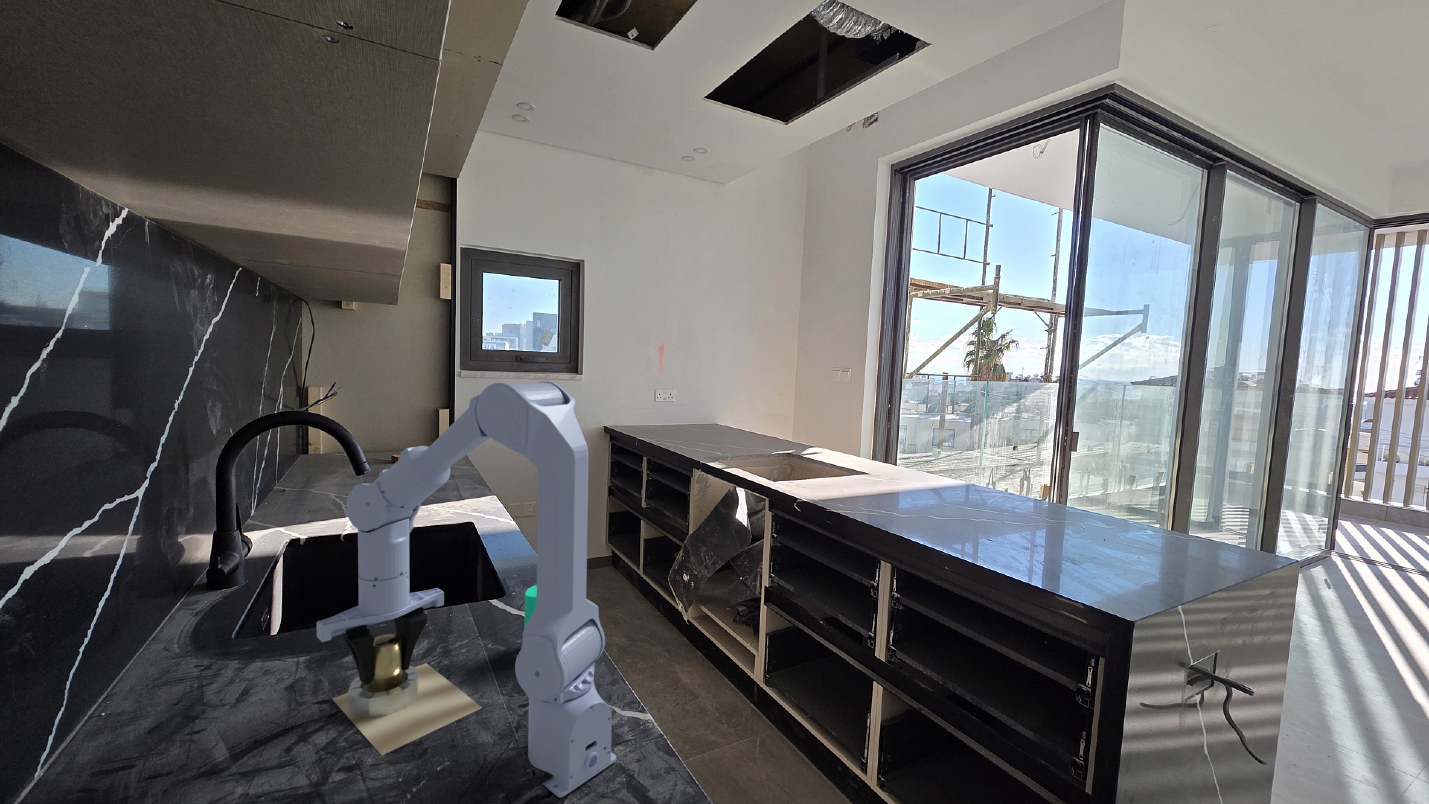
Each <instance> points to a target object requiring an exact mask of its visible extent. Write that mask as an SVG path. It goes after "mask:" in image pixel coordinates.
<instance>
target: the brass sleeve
mask: <svg viewBox="0 0 1429 804" xmlns="http://www.w3.org/2000/svg"><path fill="white" fill-rule="evenodd" d="M374 638H375V639H374V644H373V650H372V683H370V684H367V692H371V693H378V692H384V691H389V690H391V689H394V688H396V687H399V686H400V685H401V684H402V637H401V636H400V635H397V634H396V633H389V634H382V635H379V636H376V637H374Z"/></svg>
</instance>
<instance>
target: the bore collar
mask: <svg viewBox="0 0 1429 804" xmlns="http://www.w3.org/2000/svg"><path fill="white" fill-rule="evenodd" d="M347 693H348V709H349V710H350V711H351V712H352V714H353V715H354V716H359V717H365V718H373V717H379V716H385V715H390V714H392V713H394V712H397V711H399V710H402V709H404V708H406V707H407V706H409V705H410V704H411V703H412V702H413V701H414V700H416V699H417V697H418V693H419V671H418V670H417V669H415V667H414V666H413V665H409V669H407V670H405V671H403V670H402V684H401V685H400V686H399V687H396V688H394V689H391V690H389V691H384V692H378V693H371V692H367V685H365V684H364V683H363V682H362V681H361V680H360V679H359V676H358V677H356V678H355V679H353V680H352V681H351V683H350V685H349V688H348V691H347Z"/></svg>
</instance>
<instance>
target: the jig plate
mask: <svg viewBox="0 0 1429 804" xmlns="http://www.w3.org/2000/svg"><path fill="white" fill-rule="evenodd" d="M414 668H415V669H417V670H418V671H419V693H418V697H417V699H416V700H414V701H413V702H412V703H411V704H410V705H409V706H407V707H406V708H404V709H402V710H399V711H397V712H394V713H392V714H390V715H385V716H379V717H373V718H365V717H359V716H354V715H353V714H352V712H351V711H350V710H349V709H348V692H346V693H344V694H341V695H338V696H336V697H333V698H332V701H333V702H334V704H336V705H337V706H338V708H339V709H340V710H341V711H342V713H344V714H345V716H346V717H347V718H348V719H349V720H350V722H352V723H353V725H354V726H355V727H356V728H357V730H358V731H359V732H360V733H361V734H362V735H363V736H364V738H365V739H366V740H367V741H368V742H369V743H370V744H371V745H372V747H374V748H375V749H374V750H376V751H377V752H378V753H379V754H380V755H381V756H384V755H387V754H388V753H390V752H392V751H395V750H397V749H398V748H400V747H404V746H406V745H407V744H410V743H411V742H414V741H416V740H418V739H420V738H422V737H424V736H426V735H428V734H431V733H434V731H437V730H438V729H441V728H443V727H445V726H447V725H450V724H452V723H453V722H455V721H458V720H460V719H462V718H464V717H467V716H469V715H471V714H473V713H475V712H477V711H479V710H481V709H483V707H482V706H481V705H480V704H479V703H477V702H476V701H475V700H473V699H472V698H471V697H469V696H468V695H467V694H466V693H465V692H463V691H462V690H461V689H460V688H458V687H457V686H456V685H454V684H453V683H452V682H451V681H449V679H447V678H446V677H444V676H443V675H442V674H440V672H438V671H437V670H436V669H435V668H433V667H432V666H430V665H429V664H428V663H427V662H426V663H424V664H420V665H417V666H415V667H414Z"/></svg>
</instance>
